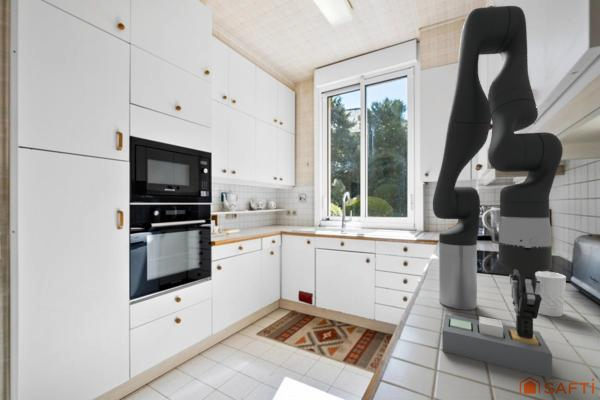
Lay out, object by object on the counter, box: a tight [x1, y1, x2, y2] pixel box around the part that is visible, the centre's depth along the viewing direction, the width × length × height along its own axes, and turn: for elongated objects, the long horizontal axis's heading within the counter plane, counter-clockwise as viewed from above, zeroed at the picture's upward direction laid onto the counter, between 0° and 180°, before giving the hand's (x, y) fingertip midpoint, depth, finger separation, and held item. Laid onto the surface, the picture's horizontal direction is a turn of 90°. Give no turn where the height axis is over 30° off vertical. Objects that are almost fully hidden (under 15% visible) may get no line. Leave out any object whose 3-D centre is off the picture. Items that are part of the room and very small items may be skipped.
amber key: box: [510, 330, 539, 345], centre depth 50 cm, size 4×4×2 cm
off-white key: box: [478, 316, 504, 338], centre depth 53 cm, size 4×4×2 cm
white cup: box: [535, 271, 567, 317], centre depth 72 cm, size 8×8×10 cm
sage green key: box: [450, 319, 471, 331], centre depth 55 cm, size 4×4×2 cm
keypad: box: [442, 313, 553, 379], centre depth 53 cm, size 9×16×4 cm, turn 59°
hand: (524, 336), depth 50 cm, fingers closed
